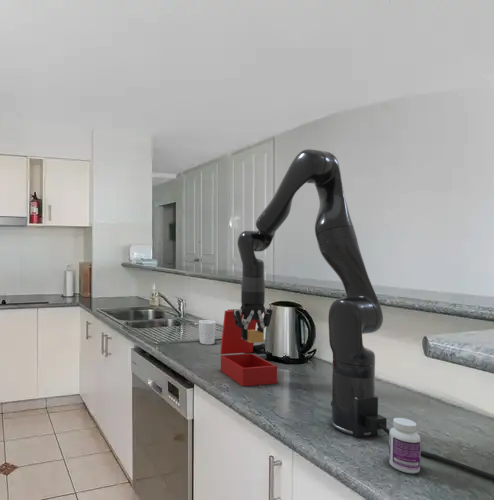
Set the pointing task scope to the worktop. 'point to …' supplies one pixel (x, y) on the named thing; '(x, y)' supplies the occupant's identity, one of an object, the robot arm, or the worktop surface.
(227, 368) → the red open box
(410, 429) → the pill bottle
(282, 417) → the worktop surface
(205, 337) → the white cup
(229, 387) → the worktop surface
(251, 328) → the box lid
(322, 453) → the worktop surface
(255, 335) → the block
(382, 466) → the worktop surface
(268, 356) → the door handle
